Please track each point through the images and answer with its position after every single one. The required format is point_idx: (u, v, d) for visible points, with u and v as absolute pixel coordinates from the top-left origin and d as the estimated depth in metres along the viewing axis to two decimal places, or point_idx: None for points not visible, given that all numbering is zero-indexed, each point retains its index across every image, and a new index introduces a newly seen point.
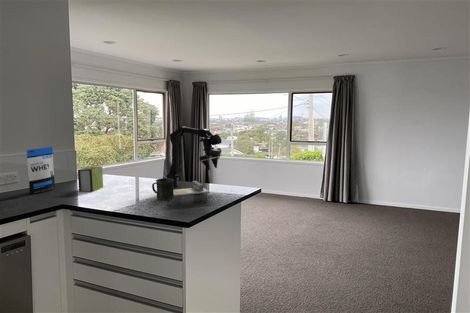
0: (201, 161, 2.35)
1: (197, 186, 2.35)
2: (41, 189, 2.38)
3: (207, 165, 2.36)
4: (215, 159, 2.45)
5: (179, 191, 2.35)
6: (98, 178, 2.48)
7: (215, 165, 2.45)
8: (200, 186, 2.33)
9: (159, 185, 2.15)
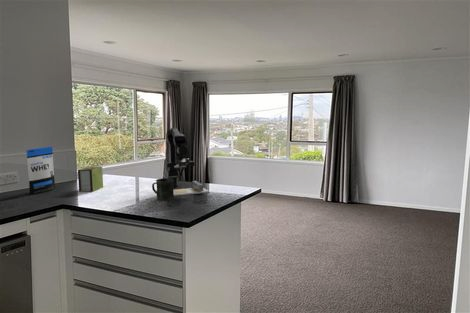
0: (173, 167, 2.34)
1: (197, 186, 2.35)
2: (41, 189, 2.38)
3: (178, 172, 2.33)
4: (181, 168, 2.33)
5: (179, 191, 2.35)
6: (98, 178, 2.48)
7: None
8: (200, 186, 2.33)
9: (159, 185, 2.15)
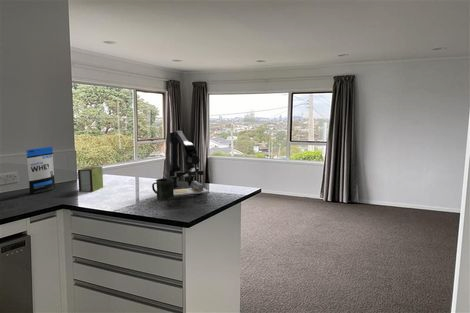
0: (183, 176, 2.35)
1: (197, 186, 2.35)
2: (41, 189, 2.38)
3: (187, 181, 2.34)
4: (190, 177, 2.34)
5: (179, 191, 2.35)
6: (98, 178, 2.48)
7: None
8: (200, 186, 2.33)
9: (159, 185, 2.15)
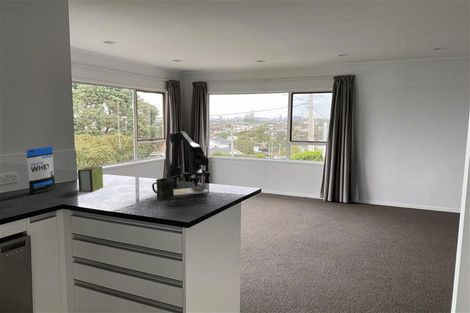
0: None
1: (198, 186, 2.36)
2: (41, 189, 2.38)
3: (194, 182, 2.36)
4: (196, 178, 2.36)
5: (179, 191, 2.35)
6: (98, 178, 2.48)
7: None
8: (201, 186, 2.33)
9: (159, 185, 2.15)
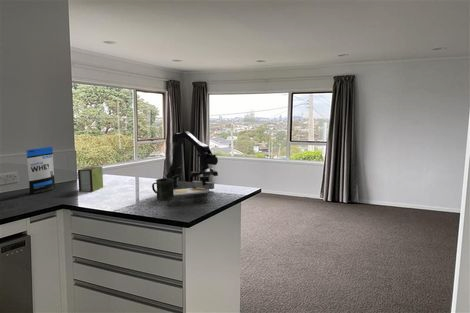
0: None
1: (207, 185, 2.40)
2: (41, 189, 2.38)
3: (202, 181, 2.39)
4: (204, 177, 2.39)
5: (179, 191, 2.35)
6: (98, 178, 2.48)
7: None
8: (212, 184, 2.40)
9: (159, 185, 2.15)
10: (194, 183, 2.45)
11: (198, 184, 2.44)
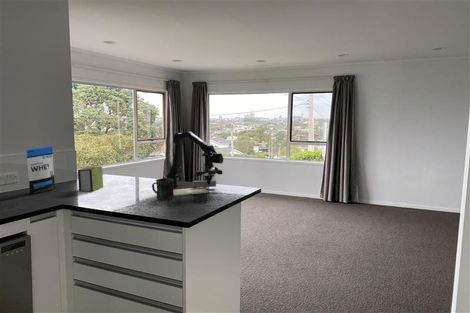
0: None
1: (211, 183, 2.47)
2: (41, 189, 2.38)
3: (207, 180, 2.44)
4: (209, 176, 2.44)
5: (179, 191, 2.35)
6: (98, 178, 2.48)
7: None
8: (215, 181, 2.49)
9: (159, 185, 2.15)
10: (196, 183, 2.45)
11: (200, 183, 2.46)
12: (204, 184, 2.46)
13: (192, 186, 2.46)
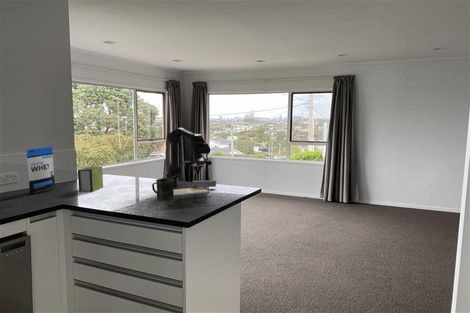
0: (191, 165, 2.39)
1: (211, 183, 2.47)
2: (41, 189, 2.38)
3: (195, 171, 2.38)
4: (198, 167, 2.38)
5: (179, 191, 2.35)
6: (98, 178, 2.48)
7: None
8: (215, 181, 2.49)
9: (159, 185, 2.15)
10: (196, 183, 2.45)
11: (200, 183, 2.46)
12: (204, 184, 2.46)
13: (192, 186, 2.46)
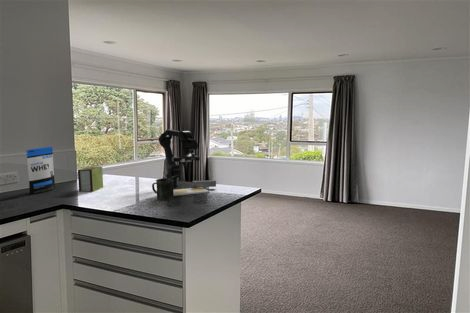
0: None
1: (211, 183, 2.47)
2: (41, 189, 2.38)
3: (184, 166, 2.46)
4: (187, 162, 2.46)
5: (179, 191, 2.35)
6: (98, 178, 2.48)
7: None
8: (215, 181, 2.49)
9: (159, 185, 2.15)
10: (196, 183, 2.45)
11: (200, 183, 2.46)
12: (204, 184, 2.46)
13: (192, 186, 2.46)
